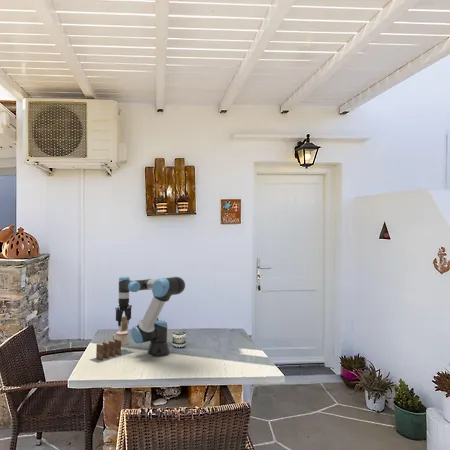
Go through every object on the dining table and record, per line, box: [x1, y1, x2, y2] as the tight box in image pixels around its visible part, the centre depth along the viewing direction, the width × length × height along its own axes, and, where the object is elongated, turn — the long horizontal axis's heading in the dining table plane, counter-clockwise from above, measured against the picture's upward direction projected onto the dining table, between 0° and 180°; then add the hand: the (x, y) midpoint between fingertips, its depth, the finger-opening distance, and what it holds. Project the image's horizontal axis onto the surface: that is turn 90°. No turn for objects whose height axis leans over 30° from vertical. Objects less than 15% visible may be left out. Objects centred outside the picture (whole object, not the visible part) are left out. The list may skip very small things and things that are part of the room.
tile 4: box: [102, 341, 110, 359], centre depth 287 cm, size 2×5×10 cm, turn 54°
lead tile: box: [121, 315, 128, 332], centre depth 308 cm, size 2×5×10 cm, turn 144°
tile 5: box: [95, 343, 103, 360], centre depth 283 cm, size 2×5×10 cm, turn 54°
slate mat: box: [89, 349, 134, 364], centre depth 291 cm, size 10×30×1 cm, turn 144°
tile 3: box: [108, 340, 115, 357], centre depth 291 cm, size 2×5×10 cm, turn 54°
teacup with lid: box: [112, 330, 129, 346], centre depth 321 cm, size 12×9×12 cm
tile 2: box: [113, 338, 122, 355], centre depth 295 cm, size 2×5×10 cm, turn 54°
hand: (123, 329), depth 308 cm, fingers closed on lead tile, 5 cm apart
